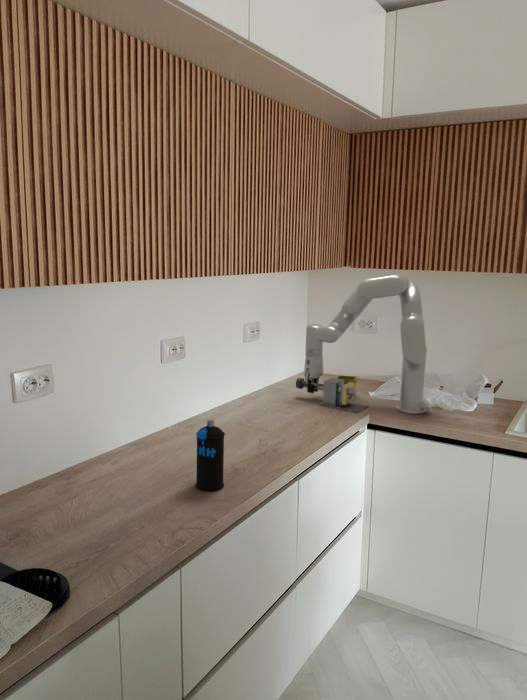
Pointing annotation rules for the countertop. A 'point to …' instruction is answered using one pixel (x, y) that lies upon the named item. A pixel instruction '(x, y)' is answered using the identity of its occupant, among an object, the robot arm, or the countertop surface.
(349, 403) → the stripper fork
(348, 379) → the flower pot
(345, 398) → the gold bearing plate
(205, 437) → the aerosol can
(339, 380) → the block
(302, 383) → the shaft
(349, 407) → the mat
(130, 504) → the countertop surface
